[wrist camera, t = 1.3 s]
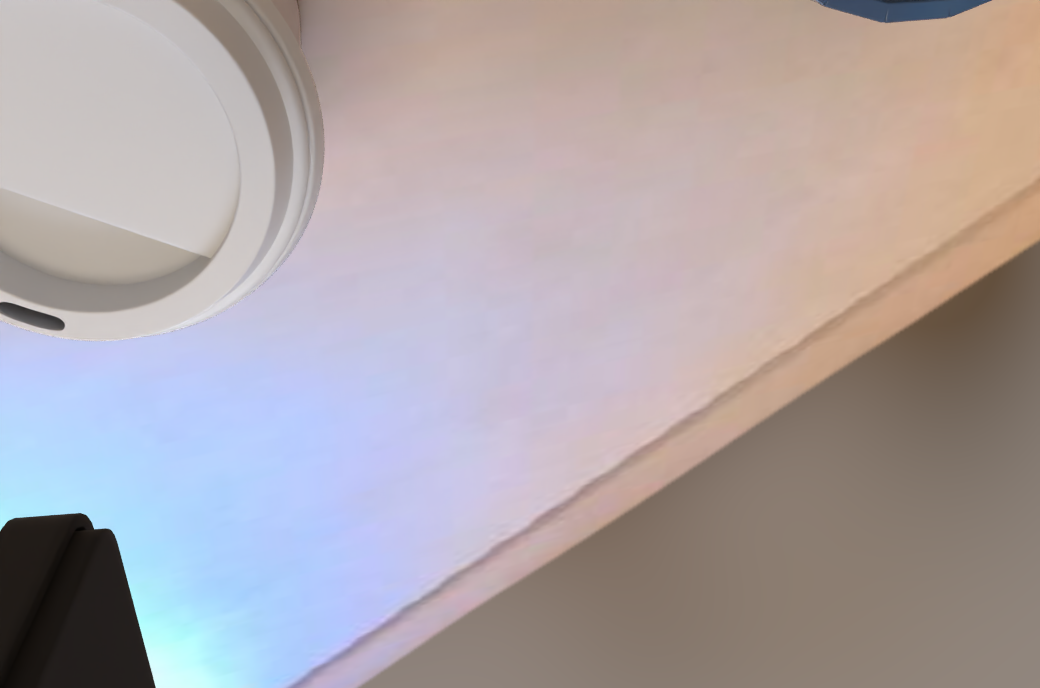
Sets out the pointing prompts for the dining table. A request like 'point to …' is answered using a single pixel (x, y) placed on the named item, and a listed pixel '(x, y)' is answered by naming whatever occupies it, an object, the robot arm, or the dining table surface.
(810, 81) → the dining table surface
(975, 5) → the bowl
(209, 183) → the coffee cup
